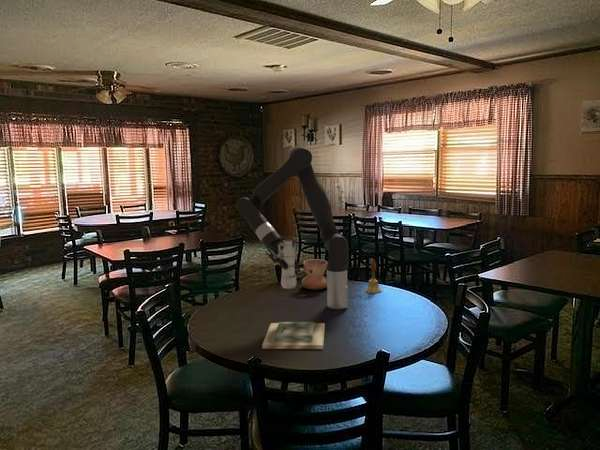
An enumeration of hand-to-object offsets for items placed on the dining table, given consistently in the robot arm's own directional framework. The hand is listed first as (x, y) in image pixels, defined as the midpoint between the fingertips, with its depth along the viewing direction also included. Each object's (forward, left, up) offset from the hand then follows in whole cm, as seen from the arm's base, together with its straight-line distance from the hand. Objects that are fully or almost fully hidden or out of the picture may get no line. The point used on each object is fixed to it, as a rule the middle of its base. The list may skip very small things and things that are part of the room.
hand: (291, 266), depth 194 cm
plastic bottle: (+2, -1, -9) cm, 10 cm away
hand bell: (-36, -46, -24) cm, 63 cm away
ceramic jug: (-7, -52, -24) cm, 58 cm away
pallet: (-2, +15, -24) cm, 29 cm away
